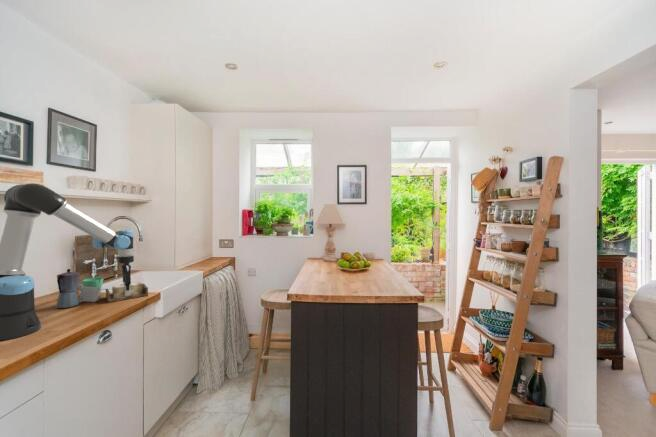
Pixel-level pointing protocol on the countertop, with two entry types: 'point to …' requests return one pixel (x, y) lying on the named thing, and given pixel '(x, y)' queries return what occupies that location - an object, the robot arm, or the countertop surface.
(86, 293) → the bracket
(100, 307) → the countertop surface
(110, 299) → the cradle
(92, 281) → the green lidded container
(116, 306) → the countertop surface
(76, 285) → the moka pot
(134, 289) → the tan rectangular block
